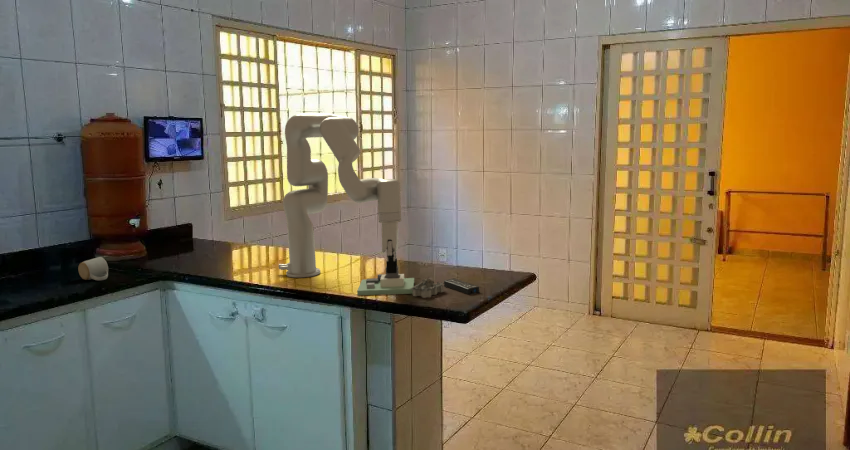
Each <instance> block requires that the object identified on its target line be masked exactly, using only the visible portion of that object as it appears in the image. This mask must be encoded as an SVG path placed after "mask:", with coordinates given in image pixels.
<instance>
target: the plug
mask: <svg viewBox="0 0 850 450" xmlns="http://www.w3.org/2000/svg"><path fill="white" fill-rule="evenodd" d="M396 258H397V256H396V257H395V261H396ZM396 268H397V272H396V273H387V265H386V266H385V274H386V278H399V274H400V273H399V265H397V266H396Z"/></svg>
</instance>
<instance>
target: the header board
mask: <svg viewBox="0 0 850 450" xmlns="http://www.w3.org/2000/svg"><path fill="white" fill-rule="evenodd" d="M414 286H415V277H408V278H407V277H405V273H399V278H386V273H385V274H380V273H379V274H377V277H375V278H366V279H364V278H363V279H361V281H360V283H359V286H358V288H357V289H356V290H357V296H377V295H378V296H379V295H407V294H408V295H409V294H410V295H412V294H413V291H412V289H411V288H412V287H414Z"/></svg>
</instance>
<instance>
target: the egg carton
mask: <svg viewBox="0 0 850 450" xmlns="http://www.w3.org/2000/svg"><path fill="white" fill-rule="evenodd" d="M443 286H444V282H439V281H437V282H436V283H435V282H434V279H430V278H429V277H426V278H423V279H422V281H421V282H418V284H416V285H415V284H414V287H412V288H411V289H412V291H413V294H411V295H412V296H413V297H421V298H423V299H424V298H431V297H432V296H434V295H437V294H438V293H443V292H444V289H443V288H444V287H443Z"/></svg>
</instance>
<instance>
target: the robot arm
mask: <svg viewBox="0 0 850 450" xmlns="http://www.w3.org/2000/svg"><path fill="white" fill-rule="evenodd" d="M359 133H360V131H359V125H358V124H357V122H356V121H355V119H353V118H352V117H349V116H344V115H337V114H331V113H314V112H313V113H311V112H310V113H306V112H305V113H298V114H295V115H292V116H291V117H290V118H289V119H288V120H287V121H286V123H285V127H284V137H285V142H286V143H285V144H286V177H287V179H286V180H287V181H288V183H289V184H290V185H291V186H293V187H305V186H307V188H302V189H295V190H291V191H288V192H287V193H286V194H285V195H284V197H283V200H282V208H283V211H284V215H285V219H286V220H285V221H286V227H287V228H286V229H287V230H286V231H287V242H288V244H287V245H288V257H289V262H288V263H285V264H284V263H279V264H278V269H279V270H280V271H283V270H284V271H285V270H287V271H286V274H285V275H286V277H288V278H295V279H296V278H297V279H298V278H310V277H315V276H317V275H320V273H321V269H320V268H318V267H317V264H316V263H317V262H316V248H315V246H316V244H315V233H314V225H313V222H312V220H311V218H310V216H309V215H310V214H311V215H313V214H317V213H321V212H324V211H325V209H326V207H327V205H328V200H329V199H328V198H329V197H328V196H329V193H328V192H329V173H328V168H327V166H326V164H325V163H324V162H323V161H322V160H320V159H317V158H312V155H311V154H312V150H311V145H310V143H309V141H308V139H309V138H323V140H324V142H325V143H326V145H327V146H328V147H329V149H330V150H331V152H332V154H333V155H334V157H335V158H336V160H337V162H338V166H337V174H338V180H339V183H340V185H341V187H342V189H343V190H344V192H345V193H346V195H347V196H348V197H349V199H350V200H352V201H353V202H355V203H359V204H360V203H367V202H375V201H377V214H378V216H377V217H378V220H377V221H378V223H381V253H383V254H384V253H385V252H386V266H387V273H396V272H397V268H396V266H398V260H397V259H398V258H397V251H398V248H399V222H402V204H401V203H402V202H401V183H400V181H399V180H398V179H394V178H388V179H387V178H386V179H383V178H381V177H372V178H371V177H370V178H363V179H362V178H361V179H360V177H359V176H358V175H357V173H356V172H355V169H354V167H353V163H354V162H355V161H356V160H357V159H358V158H359V157H360V155H361V148H360V147H359V145H358V144H357V143H356V142H357V141H355V140H356V139H357V137H358V136H359ZM311 158H312V159H311ZM395 257H396V261H395Z"/></svg>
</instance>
